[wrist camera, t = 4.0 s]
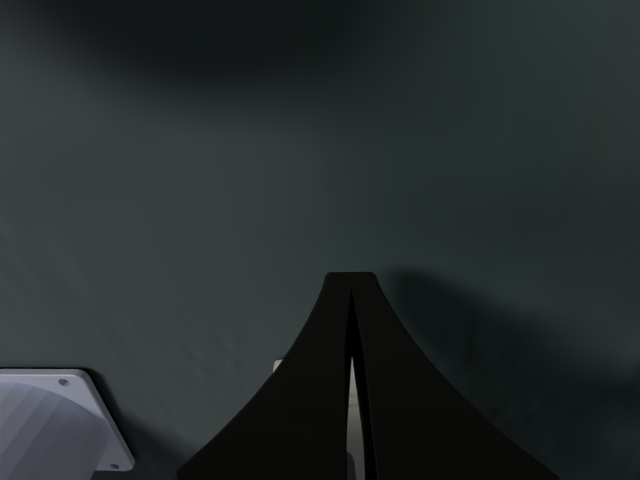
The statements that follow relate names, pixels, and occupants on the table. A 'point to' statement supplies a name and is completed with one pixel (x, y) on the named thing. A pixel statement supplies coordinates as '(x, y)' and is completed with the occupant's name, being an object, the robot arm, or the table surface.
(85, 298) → the table surface
